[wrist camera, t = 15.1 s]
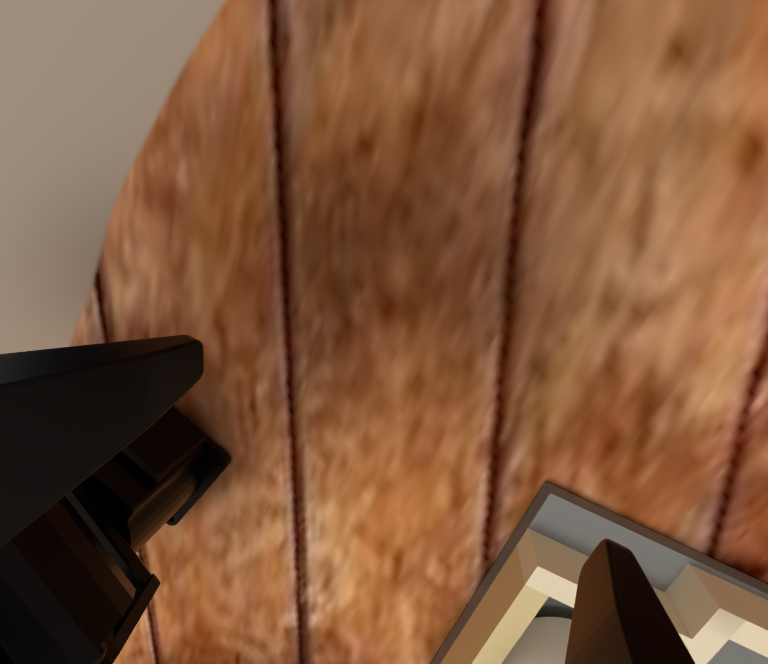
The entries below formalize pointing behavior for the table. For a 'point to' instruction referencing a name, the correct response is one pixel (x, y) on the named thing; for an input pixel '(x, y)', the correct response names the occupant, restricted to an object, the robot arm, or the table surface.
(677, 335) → the table surface
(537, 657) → the can
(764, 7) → the table surface
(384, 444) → the table surface
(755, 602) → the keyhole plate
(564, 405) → the table surface
